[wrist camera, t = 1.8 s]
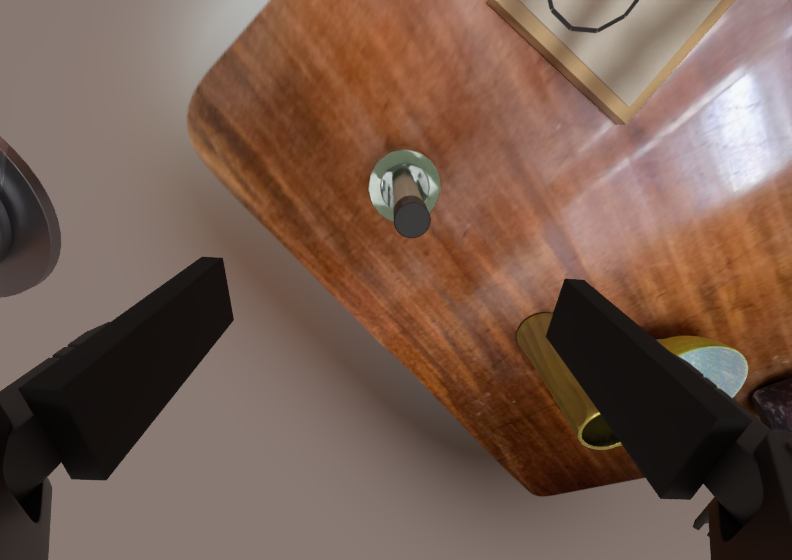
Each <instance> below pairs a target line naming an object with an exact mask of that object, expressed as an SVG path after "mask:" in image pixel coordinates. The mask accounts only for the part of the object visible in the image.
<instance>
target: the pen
mask: <svg viewBox="0 0 792 560" xmlns="http://www.w3.org/2000/svg"><path fill="white" fill-rule="evenodd" d="M392 184H393V201H394V211H393V215H394V225H395V228H396V230H397V231H398V232H399V233H400V234H401V235H402V236H404V237H407V238H416V237H419V236H421V235H423V234H424V233H425V232H426V231H427V230H428V228H429V226H430V221H431V218H430V214H429V211H428V209H427V207H426V204H425V203H424V201H423V199H422V197H421V195H420V192H419V190H418V188H417V185H416V183H415V180H414V178H413V176H412V174H411V172H410V171H408V170H406V169H399V170H397V171H396V172H395V173H394V175H393V177H392Z"/></svg>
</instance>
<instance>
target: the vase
mask: <svg viewBox="0 0 792 560" xmlns="http://www.w3.org/2000/svg"><path fill="white" fill-rule="evenodd" d="M552 316H553V314H551V313H540V314H536V315H534V316H532V317H530V318H528V319H527V320H525V321H524V322H523V323H522V325H521V326H520V328H519V329H518V331H517V336H516V338H517V343H518V345H519V347H520V348H521V349H522V350H523V351H524V352H525V354H526V356H527V357H528V358H529V360H530V361H531V363H532V364H533V366H534V367H535V369H536V370H537V372H538V374H539V375H540V377H541V378H542V380H543V382H544V383H545V385H546V386H547V388H548V389H549V391H550V393H551V394H552V396H553V398H554V399H555V401H556V402H557V404H558V406H559V407H560V409H561V411H562V412H563V414H564V415H565V417H566V419H567V421H568V422H569V424H570V425H571V427H572V429H573V431H574V432H575V434H576V436H577V437H578V439H579V440H580V442H581V443H582V444H583V445H585V446H586V447H589V448H592V449H597V450H606V449H611V448H615V447H617V446H620V445H622V444H621V442H620V441H619V439H618V438H617V437H616V435H615V434H614V432H613V431H612V430H611V428H610V427H609V425H608V424H607V423H606V421H605V420H604V418H603V417H602V415H601V414H600V413H599V411H598V410H597V408H596V407H595V406H594V404H593V403H592V401H591V400H590V399H589V397H588V396H587V394H586V393H585V391H584V390H583V389H582V387H581V386H580V384H579V383H578V382H577V380H576V379H575V377H574V376H573V375H572V373H571V372H570V370H569V369H568V368H567V366H566V365H565V363H564V362H563V360H562V359H561V358H560V356H559V355H558V353H557V352H556V351H555V349H554V348H553V346H552V345H551V344H550V342H549V341H548V339H547V338H546V334H547V331H548V328H549V325H550V322H551V319H552Z"/></svg>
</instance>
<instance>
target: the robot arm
mask: <svg viewBox="0 0 792 560" xmlns="http://www.w3.org/2000/svg"><path fill="white" fill-rule="evenodd" d="M11 240H12V230H11V224H10V221H9V217H8V215H7V212H6V210H5V208H4V206H3V204H2V202H1V200H0V261H1V260H2V259H3V258H4V257H5V256H6V254H7V253H8V251H9V248H10V245H11ZM233 320H234V319H233V313H232V307H231V302H230V296H229V290H228V285H227V279H226V274H225V268H224V263H223V258H213V257H201V258H200V259H198V260H197V261H195V262H194V263H193V264H191V265H190V266H188V267H187V268H186V269H184V270H183V271H181V272H180V273H179V274H177V275H176V276H175V277H173V278H172V279H170V280H169V281H167V282H166V283H165V284H163V285H162V286H161V287H159V288H158V289H156V290H155V291H153V292H152V293H151V294H149V295H148V296H146V297H145V298H144V299H143V300H141V301H139V302H138V303H137V304H135V305H134V306H133V307H131V308H130V309H129V310H127V311H126V312H124V313H123V314H121V315H120V316H119V317H117V318H116V319H115V320H113V321H112V322H108V323H105V324H103V325H101V326H99V327H96V328H94V329H92V330H90V331H87V332H85V333H84V334H83V335H81V336H80V337H78V338H77V339H75V340H74V341H73V342H71V343H70V344H68V347H64V348H62V349H61V350H59V351H58V352H57V353H55V354H54V355H53V357H52V358H48V359H46V360H45V361H44V362H42V363H41V364H39V365H38V366H36V367H35V368H33V369H32V370H30V371H29V372H28V373H26V374H25V375H23V376H22V377H20V378H19V379H17V380H16V381H15V382H13V383H12V384H10V385H9V386H7V387H6V388H4V389H3V390H1V391H0V560H48V552H49V535H50V516H51V499H52V486H51V483H50V481H49V479H48V478H47V476H49V475H50V473H51V472H52V471H53V470H54V469H55V468H56V467H57V466H58V465H59V464H60V463H61V462H62V464H63V465H64V467H65V469H66V471H67V473H68V474H69V476H70V477H71V479H80V480H107V479H108V478H109V476H110V475H111V474H112V473H113V471H114V470H115V469H116V467H117V466H118V465H119V463H120V462H121V461H122V460H123V459H124V457H125V456H126V455H127V454H128V452H129V451H130V450H131V449H132V447H133V446H134V445H135V444H136V442H137V441H138V440H139V439H140V437H141V436H142V435H143V434H144V432H145V431H146V430H147V428H148V427H149V426H150V425H151V423H152V422H153V421H154V420H155V418H156V417H157V416H158V415H159V413H160V412H161V411H162V410H163V408H164V407H165V406H166V405H167V403H168V402H169V401H170V400H171V398H172V397H173V396H174V394H175V393H176V392H177V391H178V389H179V388H180V387H181V386H182V384H183V383H184V382H185V381H186V379H187V378H188V377H189V376H190V374H191V373H192V372H193V371H194V369H195V368H196V367H197V365H198V364H199V363H200V362H201V361H202V359H203V358H204V357H205V355H206V354H207V353H208V352H209V350H210V349H211V348H212V347H213V345H214V344H215V343H216V342H217V340H218V339H219V338H220V337H221V335H222V334H223V333H224V332H225V330H226V329H227V328H228V326H229V325H230V324H231V323H232V322H233ZM546 338H547V339H548V341H549V342H550V344H551V345H552V346H553V348H554V349H555V351H556V352H557V353H558V355H559V356H560V358H561V359H562V360H563V362H564V363H565V365H566V366H567V368H568V369H569V370H570V372H571V373H572V375H573V376H574V377H575V379H576V380H577V382H578V383H579V384H580V386H581V387H582V389H583V390H584V391H585V393H586V394H587V396H588V397H589V399H590V400H591V401H592V403H593V404H594V406H595V407H596V408H597V410H598V411H599V413H600V414H601V415H602V417H603V418H604V420H605V421H606V423H607V424H608V425H609V427H610V428H611V430H612V431H613V432H614V434H615V435H616V437H617V438H618V439H619V441H620V442H621V444H622V445H623V446H624V448H625V449H626V451H627V452H628V454H629V455H630V456H631V458H632V459H633V461H634V462H635V463H636V465H637V466H638V468H639V469H640V470H641V472H642V473H643V475H644V476H645V477H646V479H647V480H648V482H649V483H650V485H651V486H652V487H653V489H654V490H655V492H656V493H657V494H658V496H659V497H660V499H687V500H690V499H691V498H692V497H693V496H694V495H695V493H696V492H697V491H698V489H699V488H700V487H701V486H702V484H704V485H705V486H706V487H707V488H708V489H709V491H710V492H711V493H712V494H713V495H714V496H715V497H714V498H713V500H712V501H711V502H710V503H709V504H708V506H707V507H706V508H705V509H704V510H703V512H702V513H701V514H700V515H699V516H698V517H697V519H696V520H695V522H694V525H693V527H694V528H695V529H697V530H699V529H700V528H701V527H702V526H703V525H704V524H705V523H709V533H708V534H707V536H709V537H710V550H711V560H792V432H789V431H783V430H773V431H772V430H771V429H770V428H768V427H767V426H766V425H765V424H763V423H762V422H761V421H760V420H759V419H757V418H756V417H755V416H754V415H752V414H751V413H750V412H749V411H748V410H746V409H745V408H744V407H743V406H741V405H740V404H739V403H738V402H736V401H735V400H734V399H733V398H732V397H730V396H729V395H728V394H727V393H725V392H724V391H723V390H722V389H720V388H717V385H716V384H714V383H713V382H712V381H711V380H710V379H708V378H707V377H704V376H703V374H702V373H701V372H700V371H699V370H697V369H696V368H695V367H694V366H692V365H691V364H690V363H689V362H687V361H686V360H684V359H682V358H680V357H679V356H677V355H675V354H673V353H672V352H670V351H669V350H667V349H666V348H665V347H664V346H663V345H661V344H660V343H659V342H658V341H657V340H655V339H654V338H653V337H652V336H651V335H649V334H648V333H647V332H646V331H645V330H643V329H642V328H641V327H640V326H639V325H637V324H636V323H635V322H634V321H633V320H631V319H630V318H629V317H628V316H627V315H625V314H624V313H623V312H622V311H621V310H619V309H618V308H617V307H616V306H615V305H613V304H612V303H611V302H610V301H609V300H607V299H606V298H605V297H604V296H603V295H601V294H600V293H599V292H598V291H597V290H595V289H594V288H593V287H592V286H591V285H589V284H588V283H587V282H586V281H585V280H576V279H565V280H564V283H563V286H562V289H561V292H560V295H559V298H558V301H557V304H556V307H555V310H554V313H553V316H552V319H551V322H550V325H549V328H548V331H547V334H546Z"/></svg>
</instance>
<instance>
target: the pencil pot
mask: <svg viewBox="0 0 792 560" xmlns="http://www.w3.org/2000/svg"><path fill="white" fill-rule="evenodd" d="M399 169H406V170H408V171H410V172H411V174H412V176H413V178H414V180H415V183H416V185H417V188H418V190H419V192H420V195H421V197H422V199H423V201H424V203H425V204H426V207H427V209H428V211H429V213H430V212H431V210H432V209H433V208H434V206H435V205H436V203H437V201H438V198H439V194H440V190H441V184H440V177H439V173H438V171H437V169H436V168H435V166H434V164H433V162H432V161H431V160H430V159H429V158H428V157H427V156H426V155H425V154H423V153H422V152H421V151H419V150H418V149H417V148H415V147H411V146H407V145H399V146H394V147H391V148H389V149H387V150H386V151H384V152H383V153H382V154H381V155H380V156H379V157H378V159H377V160H376V162H375V164H374V166H373V168H372V171H371V174H370V180H369V186H368V190H369V194H370V199H371V202H372V204H373V206H374V207H375V208H376V210H377V211H378V213H379V214H380V215H382V216H383V217H385V218H387V219H388V220H390V221H392V222H394V215H393V211H394V201H393V184H392V177H393V175H394V173H395V172H396V171H397V170H399Z"/></svg>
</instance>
